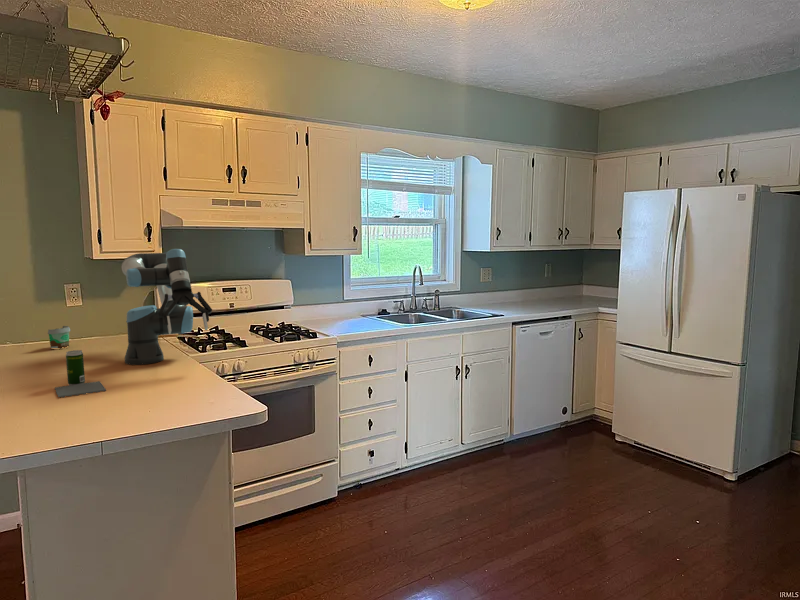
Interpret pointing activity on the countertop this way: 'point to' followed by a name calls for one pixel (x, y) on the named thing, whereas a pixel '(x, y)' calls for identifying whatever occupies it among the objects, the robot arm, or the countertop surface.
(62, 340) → the food container
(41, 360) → the countertop surface
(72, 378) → the green soda can
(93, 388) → the rubber mat
